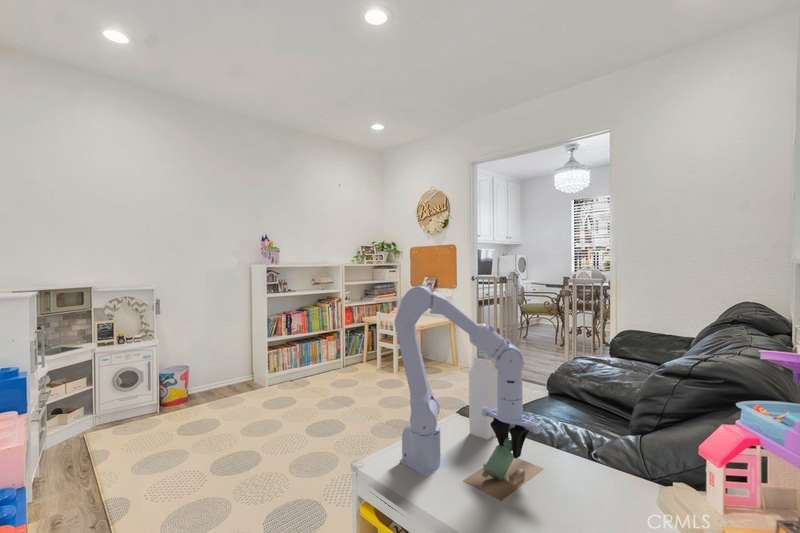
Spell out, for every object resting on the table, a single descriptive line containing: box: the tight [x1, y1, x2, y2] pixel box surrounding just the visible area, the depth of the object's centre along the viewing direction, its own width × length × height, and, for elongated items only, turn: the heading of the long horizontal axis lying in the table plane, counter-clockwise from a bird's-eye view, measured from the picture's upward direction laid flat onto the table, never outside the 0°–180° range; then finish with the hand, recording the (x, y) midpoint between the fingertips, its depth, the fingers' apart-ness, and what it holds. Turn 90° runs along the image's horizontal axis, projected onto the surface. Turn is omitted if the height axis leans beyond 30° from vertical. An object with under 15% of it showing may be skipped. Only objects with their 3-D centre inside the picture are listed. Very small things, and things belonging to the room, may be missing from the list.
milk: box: [468, 357, 498, 441], centre depth 108 cm, size 6×6×22 cm
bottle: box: [484, 437, 514, 481], centre depth 86 cm, size 4×4×9 cm
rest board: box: [462, 457, 545, 502], centre depth 87 cm, size 10×18×2 cm, turn 132°
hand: (510, 454), depth 88 cm, fingers closed on bottle, 3 cm apart
